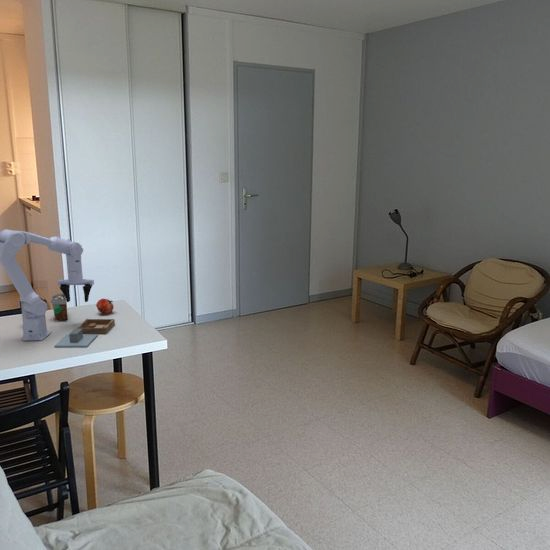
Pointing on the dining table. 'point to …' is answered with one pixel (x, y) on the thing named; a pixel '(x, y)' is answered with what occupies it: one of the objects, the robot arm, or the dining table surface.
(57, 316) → the food container
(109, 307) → the pomegranate
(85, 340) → the lid
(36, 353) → the dining table surface
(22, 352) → the dining table surface
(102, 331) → the wooden tray
